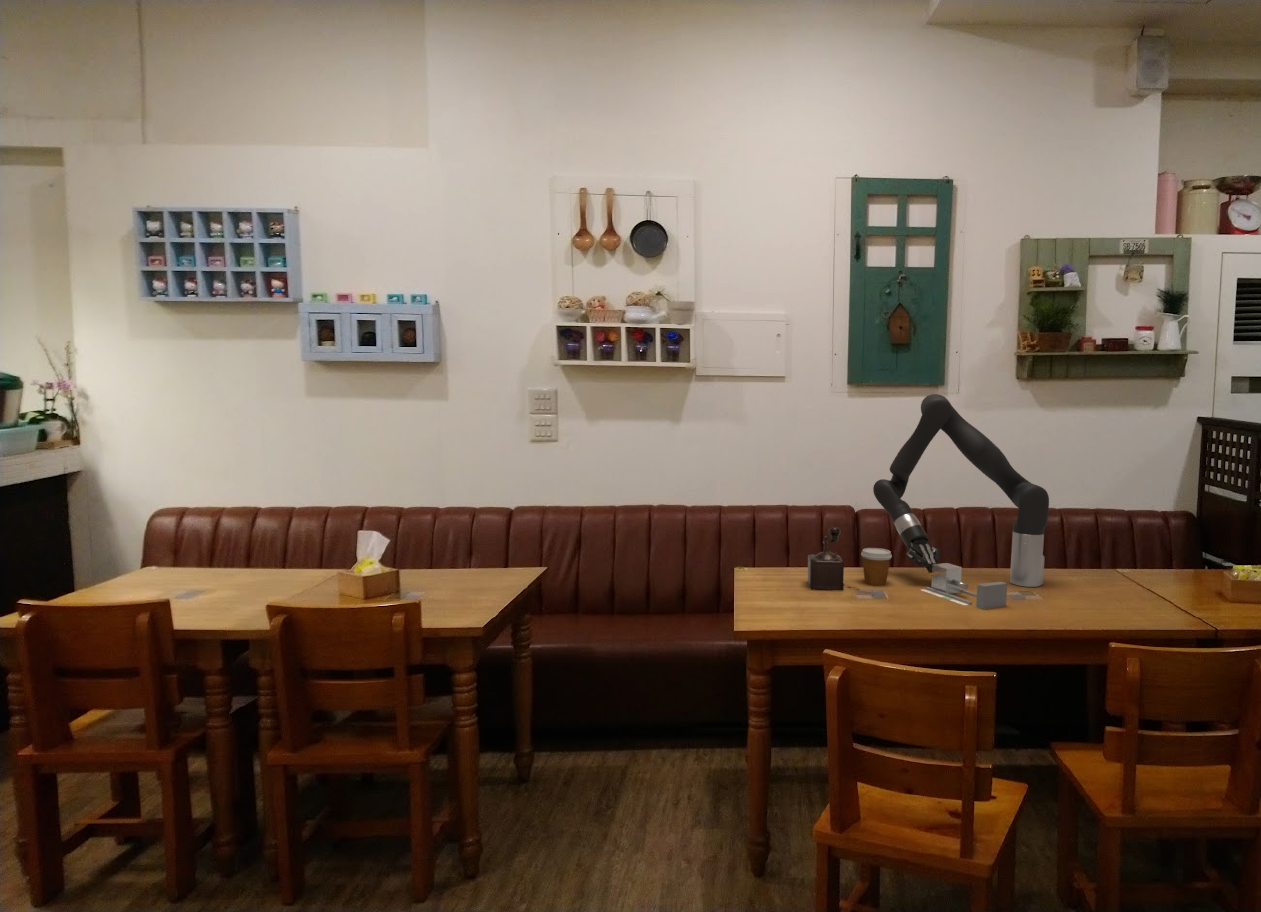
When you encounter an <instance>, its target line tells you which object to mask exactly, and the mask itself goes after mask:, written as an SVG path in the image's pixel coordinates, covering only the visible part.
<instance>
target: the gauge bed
mask: <svg viewBox="0 0 1261 912" xmlns="http://www.w3.org/2000/svg"><path fill="white" fill-rule="evenodd" d="M976 585H977V586H976V593H974V592H971V591H968V590H967V589H964V588H961V593H962V594H965V595H968V596H971V597H975V598H976V603H975V604H976V605H975V607H976V608H978V609H981V610H988V609H993V608H995V609H996V608H1001V607H1002V608H1003V607H1007V597H1008V596H1007V595H1008V582H1003V581H995V582H993V581H992V582H987V583H977V584H976ZM924 588H925V589H921V591H922V592H925V593H928V594H930V595H933V596H936V597H939V598H941V599H945V600H947V601H951V602H953V603H957V604H958V605H962V606H969V605H970V606H971V605H972V604H973V602H972V601H970V600H967V599H966V598H965V599H964V598H961V597H958V596H955V595H953V594H947V593H944V592H941V591H938V590H935V589H932V588H931V586H930V587H929V586H925V587H924Z"/></svg>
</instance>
